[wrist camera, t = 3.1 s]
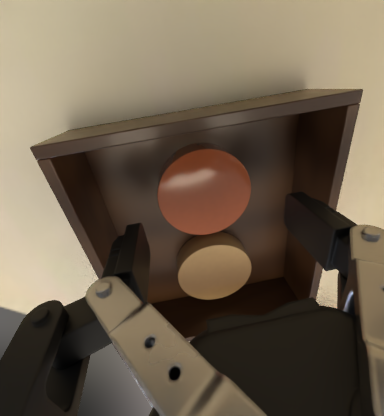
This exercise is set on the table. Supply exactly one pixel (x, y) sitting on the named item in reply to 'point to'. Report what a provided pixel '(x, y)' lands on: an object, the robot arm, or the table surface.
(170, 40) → the table surface
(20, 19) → the table surface
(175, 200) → the terracotta coaster
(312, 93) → the tray
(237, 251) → the cork coaster
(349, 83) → the table surface
